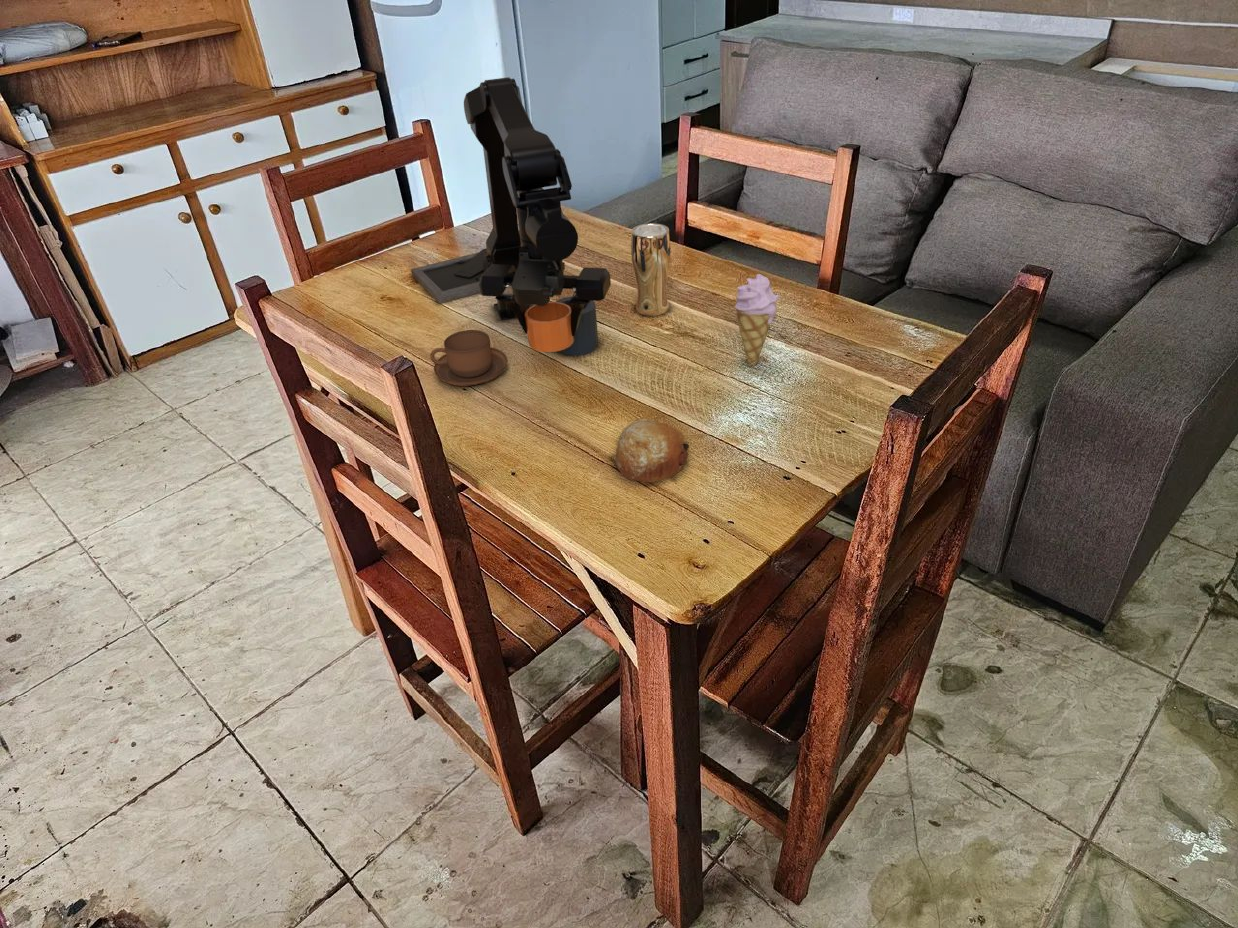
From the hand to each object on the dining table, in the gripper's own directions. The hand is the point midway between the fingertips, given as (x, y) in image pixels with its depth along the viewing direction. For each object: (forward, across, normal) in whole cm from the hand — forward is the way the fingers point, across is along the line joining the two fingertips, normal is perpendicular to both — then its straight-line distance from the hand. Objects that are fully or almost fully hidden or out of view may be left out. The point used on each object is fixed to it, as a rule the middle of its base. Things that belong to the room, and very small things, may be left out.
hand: (550, 334), depth 127 cm
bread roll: (+10, +19, -18) cm, 28 cm away
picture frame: (+10, -28, +40) cm, 50 cm away
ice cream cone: (+10, +31, +11) cm, 34 cm away
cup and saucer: (+10, -15, +2) cm, 18 cm away
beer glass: (+10, +11, +29) cm, 33 cm away
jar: (+9, 0, +14) cm, 17 cm away
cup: (+1, 0, 0) cm, 1 cm away
